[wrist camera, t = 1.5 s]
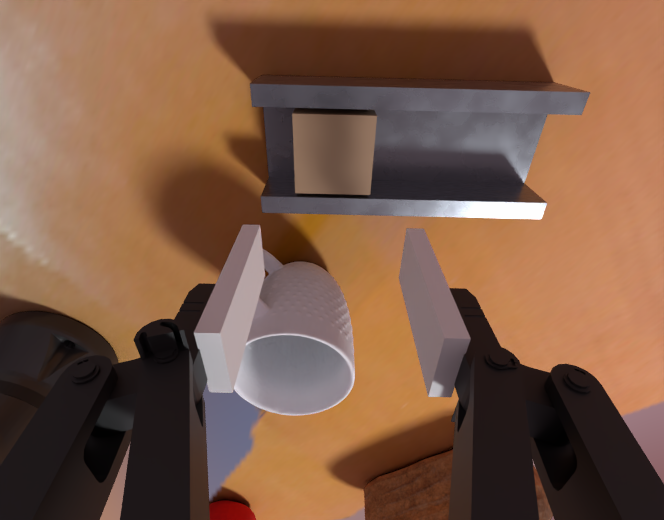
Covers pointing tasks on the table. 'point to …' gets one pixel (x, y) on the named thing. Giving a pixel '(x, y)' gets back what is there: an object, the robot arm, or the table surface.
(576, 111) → the chute
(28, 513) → the robot arm
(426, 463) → the bread
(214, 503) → the tomato
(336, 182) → the block
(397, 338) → the table surface
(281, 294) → the mug
